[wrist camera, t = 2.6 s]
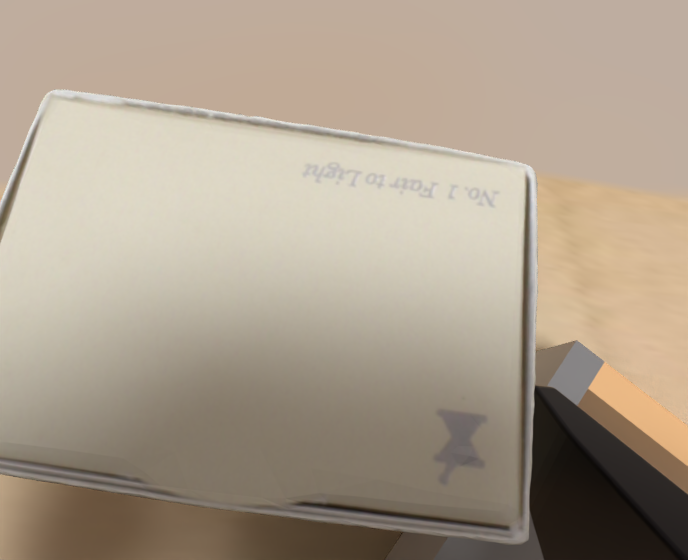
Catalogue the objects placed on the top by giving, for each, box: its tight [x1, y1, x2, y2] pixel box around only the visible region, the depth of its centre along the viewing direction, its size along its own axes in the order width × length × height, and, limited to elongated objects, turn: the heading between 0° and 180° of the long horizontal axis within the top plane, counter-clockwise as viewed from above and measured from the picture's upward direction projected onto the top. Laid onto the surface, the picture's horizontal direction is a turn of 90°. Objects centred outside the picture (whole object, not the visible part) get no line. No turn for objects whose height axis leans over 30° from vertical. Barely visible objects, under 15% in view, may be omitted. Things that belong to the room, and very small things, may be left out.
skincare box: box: [0, 90, 538, 545], centre depth 11 cm, size 6×4×12 cm
